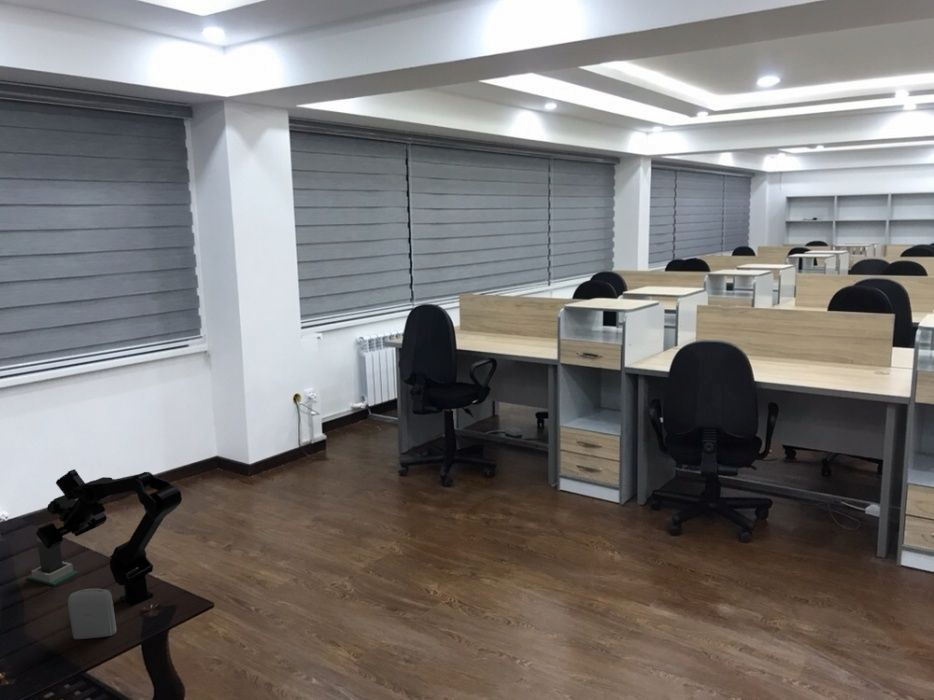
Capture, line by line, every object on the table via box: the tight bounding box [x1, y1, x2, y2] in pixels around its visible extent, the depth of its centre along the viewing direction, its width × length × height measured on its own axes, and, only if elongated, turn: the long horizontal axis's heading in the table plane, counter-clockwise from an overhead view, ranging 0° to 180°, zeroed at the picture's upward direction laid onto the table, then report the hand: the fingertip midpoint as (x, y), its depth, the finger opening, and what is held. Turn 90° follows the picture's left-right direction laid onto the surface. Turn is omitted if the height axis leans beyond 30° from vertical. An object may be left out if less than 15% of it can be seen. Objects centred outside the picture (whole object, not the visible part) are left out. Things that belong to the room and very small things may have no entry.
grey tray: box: [26, 561, 80, 587], centre depth 219 cm, size 12×8×3 cm, turn 66°
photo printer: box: [67, 588, 117, 640], centre depth 187 cm, size 10×4×12 cm, turn 96°
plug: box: [36, 536, 63, 574], centre depth 218 cm, size 4×4×12 cm
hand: (61, 541), depth 215 cm, fingers open, 9 cm apart
